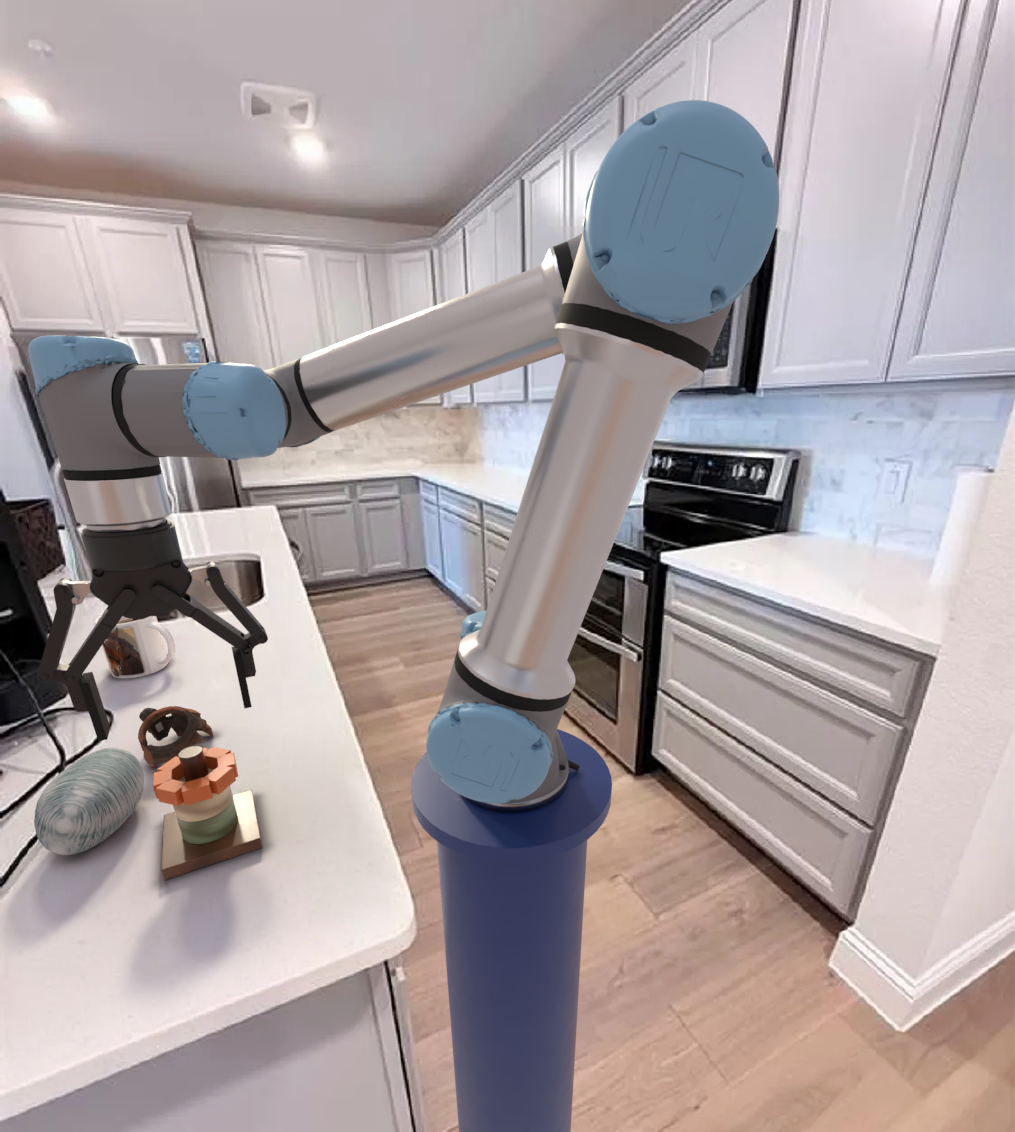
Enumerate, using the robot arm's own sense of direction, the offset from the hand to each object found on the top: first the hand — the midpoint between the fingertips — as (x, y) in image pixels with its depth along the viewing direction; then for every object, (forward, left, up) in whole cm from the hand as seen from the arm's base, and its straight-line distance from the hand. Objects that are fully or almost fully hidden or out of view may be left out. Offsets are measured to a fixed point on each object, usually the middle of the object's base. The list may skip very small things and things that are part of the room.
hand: (179, 717), depth 60 cm
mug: (+10, -58, -17) cm, 61 cm away
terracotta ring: (0, 0, -8) cm, 8 cm away
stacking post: (0, 0, -16) cm, 16 cm away
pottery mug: (+4, -23, -17) cm, 29 cm away
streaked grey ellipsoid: (+12, -9, -17) cm, 22 cm away
